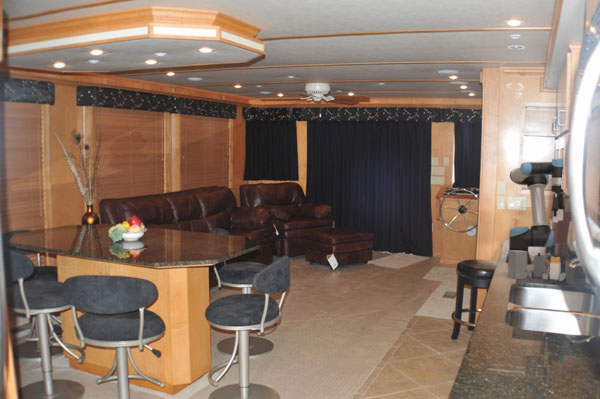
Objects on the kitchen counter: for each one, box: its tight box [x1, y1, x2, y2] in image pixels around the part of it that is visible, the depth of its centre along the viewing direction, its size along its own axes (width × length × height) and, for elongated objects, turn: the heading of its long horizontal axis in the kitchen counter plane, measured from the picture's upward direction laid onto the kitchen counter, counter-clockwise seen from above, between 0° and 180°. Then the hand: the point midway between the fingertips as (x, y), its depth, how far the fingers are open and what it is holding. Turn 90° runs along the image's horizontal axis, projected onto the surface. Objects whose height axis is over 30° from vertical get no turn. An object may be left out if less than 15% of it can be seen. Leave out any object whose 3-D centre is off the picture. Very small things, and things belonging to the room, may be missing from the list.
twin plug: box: [533, 252, 545, 279], centre depth 300 cm, size 4×4×14 cm
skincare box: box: [507, 249, 528, 280], centre depth 299 cm, size 8×7×16 cm
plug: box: [549, 253, 562, 281], centre depth 295 cm, size 4×4×14 cm
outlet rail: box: [528, 269, 566, 282], centre depth 298 cm, size 9×17×4 cm, turn 53°
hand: (557, 221), depth 312 cm, fingers open, 13 cm apart
